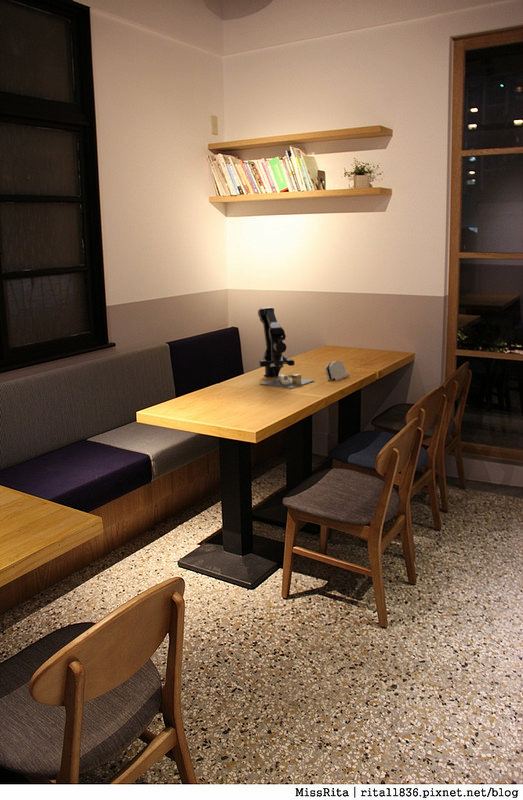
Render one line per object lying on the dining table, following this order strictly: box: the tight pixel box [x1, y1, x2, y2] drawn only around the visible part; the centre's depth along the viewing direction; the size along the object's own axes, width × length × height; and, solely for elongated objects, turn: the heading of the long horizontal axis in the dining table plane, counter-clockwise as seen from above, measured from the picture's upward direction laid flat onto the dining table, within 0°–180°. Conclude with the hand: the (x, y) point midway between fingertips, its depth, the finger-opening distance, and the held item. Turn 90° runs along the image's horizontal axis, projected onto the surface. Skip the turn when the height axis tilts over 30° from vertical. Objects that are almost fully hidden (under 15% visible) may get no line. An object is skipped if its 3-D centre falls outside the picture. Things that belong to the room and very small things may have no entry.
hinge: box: [324, 360, 350, 381], centre depth 379 cm, size 17×5×10 cm, turn 148°
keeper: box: [287, 373, 302, 384], centre depth 366 cm, size 6×4×5 cm
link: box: [277, 373, 290, 385], centre depth 369 cm, size 16×4×4 cm, turn 10°
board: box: [259, 377, 315, 390], centre depth 371 cm, size 21×21×1 cm
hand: (276, 378), depth 376 cm, fingers closed
